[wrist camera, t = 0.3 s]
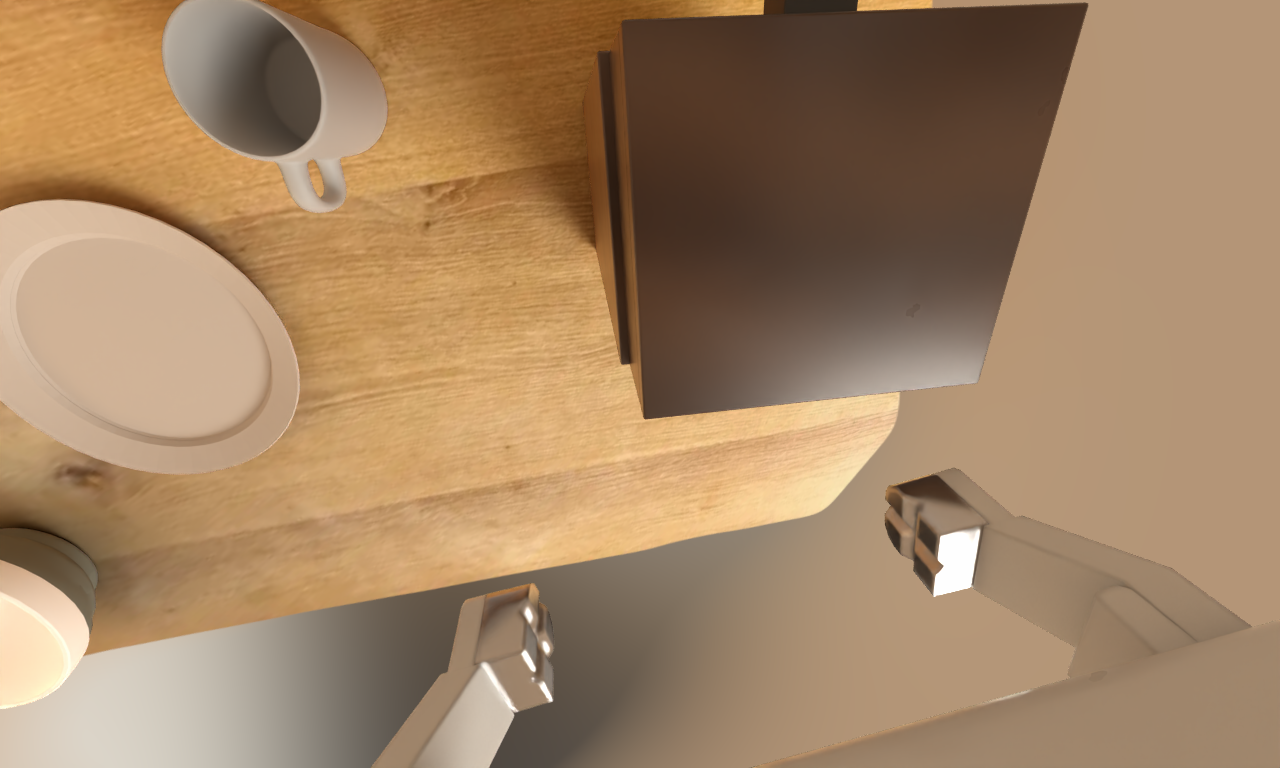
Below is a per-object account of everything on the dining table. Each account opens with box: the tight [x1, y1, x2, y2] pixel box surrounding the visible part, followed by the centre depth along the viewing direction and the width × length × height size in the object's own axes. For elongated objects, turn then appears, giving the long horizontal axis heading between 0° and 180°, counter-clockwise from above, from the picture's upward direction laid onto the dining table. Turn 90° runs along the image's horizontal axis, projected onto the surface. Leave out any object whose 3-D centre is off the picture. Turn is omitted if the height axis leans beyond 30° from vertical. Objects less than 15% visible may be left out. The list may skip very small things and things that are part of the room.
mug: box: [162, 0, 388, 213], centre depth 34 cm, size 12×8×11 cm
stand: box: [583, 3, 1088, 419], centre depth 30 cm, size 12×14×31 cm
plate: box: [0, 199, 300, 474], centre depth 43 cm, size 26×26×2 cm
